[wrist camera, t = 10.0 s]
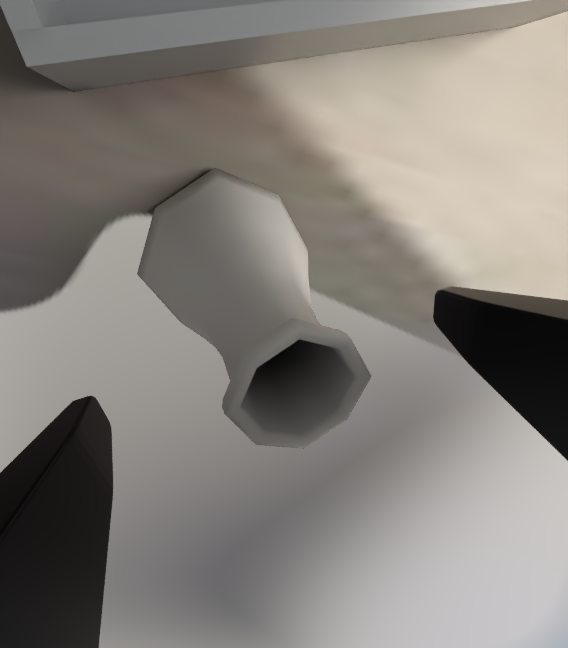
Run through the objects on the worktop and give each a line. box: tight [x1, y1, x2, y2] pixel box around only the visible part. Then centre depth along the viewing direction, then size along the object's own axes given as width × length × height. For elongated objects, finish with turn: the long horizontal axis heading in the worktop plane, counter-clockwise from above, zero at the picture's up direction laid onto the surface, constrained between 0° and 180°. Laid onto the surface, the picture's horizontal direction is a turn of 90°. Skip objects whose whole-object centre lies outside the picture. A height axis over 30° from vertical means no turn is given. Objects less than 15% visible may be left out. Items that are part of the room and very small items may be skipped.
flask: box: [137, 168, 371, 448], centre depth 12 cm, size 7×7×10 cm
